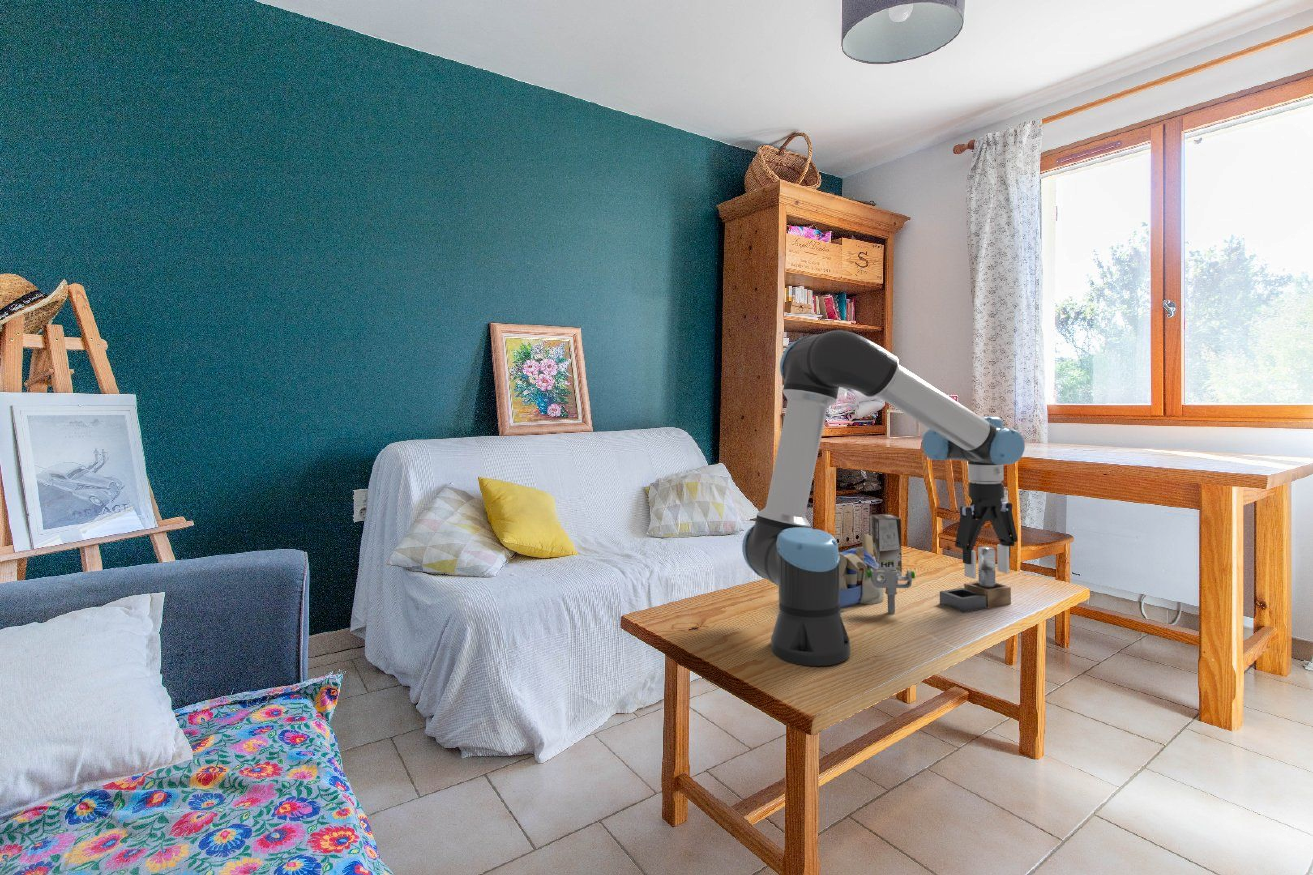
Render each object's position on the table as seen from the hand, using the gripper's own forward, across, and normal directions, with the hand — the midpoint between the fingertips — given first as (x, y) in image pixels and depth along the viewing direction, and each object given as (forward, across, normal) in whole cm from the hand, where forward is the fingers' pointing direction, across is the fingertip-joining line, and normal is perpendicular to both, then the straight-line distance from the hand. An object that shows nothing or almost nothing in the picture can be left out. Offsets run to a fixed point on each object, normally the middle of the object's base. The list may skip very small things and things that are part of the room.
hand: (987, 574), depth 151 cm
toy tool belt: (+7, -32, +15) cm, 36 cm away
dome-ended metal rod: (+7, 0, 0) cm, 7 cm away
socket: (+7, -8, 0) cm, 10 cm away
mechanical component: (+7, -26, +3) cm, 27 cm away
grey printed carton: (+7, -4, +32) cm, 33 cm away
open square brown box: (+7, 0, 0) cm, 7 cm away
